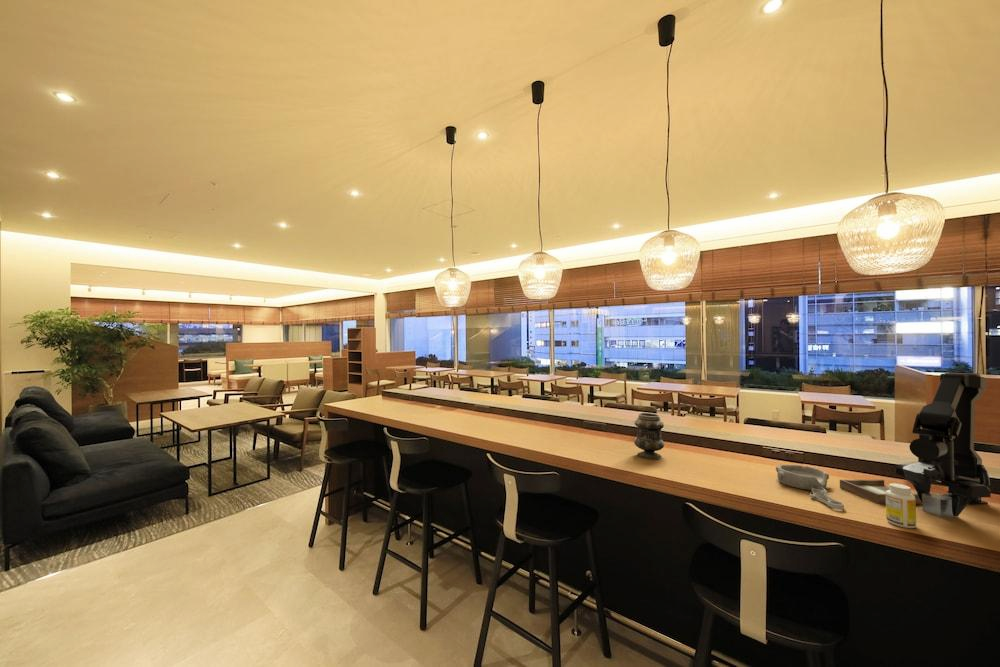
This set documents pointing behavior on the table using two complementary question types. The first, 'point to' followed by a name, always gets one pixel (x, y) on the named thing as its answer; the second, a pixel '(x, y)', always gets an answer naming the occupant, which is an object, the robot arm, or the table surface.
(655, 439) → the apothecary jar
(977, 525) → the table surface
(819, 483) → the dish
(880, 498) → the brown square tray
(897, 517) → the supplement bottle
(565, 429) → the table surface
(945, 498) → the clip
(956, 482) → the robot arm
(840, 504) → the bracket
